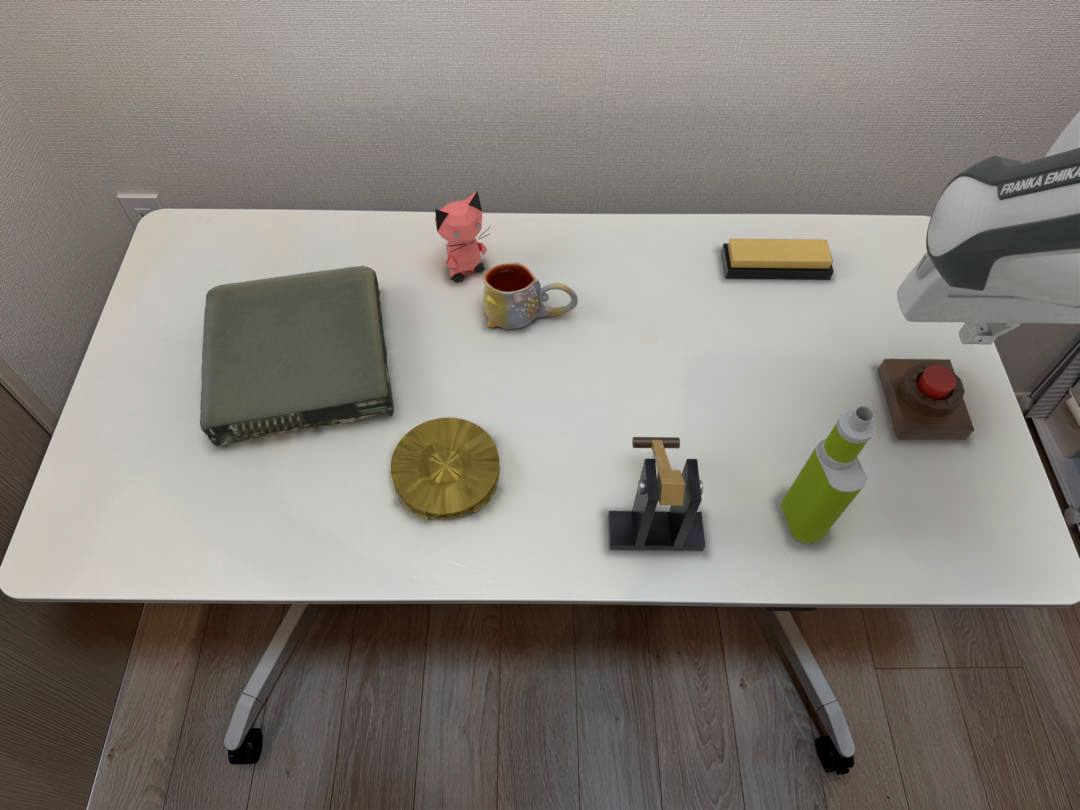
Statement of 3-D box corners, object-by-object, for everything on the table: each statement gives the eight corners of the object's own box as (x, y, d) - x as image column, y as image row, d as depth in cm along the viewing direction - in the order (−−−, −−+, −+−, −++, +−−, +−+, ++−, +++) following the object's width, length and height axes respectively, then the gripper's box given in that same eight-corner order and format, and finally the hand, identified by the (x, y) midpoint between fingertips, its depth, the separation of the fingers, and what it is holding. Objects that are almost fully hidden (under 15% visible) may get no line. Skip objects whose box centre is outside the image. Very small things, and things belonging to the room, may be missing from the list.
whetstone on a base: (830, 279, 102) (837, 264, 100) (725, 278, 102) (730, 263, 100) (823, 252, 105) (830, 236, 102) (720, 251, 105) (725, 235, 102)
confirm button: (953, 399, 88) (960, 391, 86) (921, 399, 88) (928, 391, 86) (944, 374, 90) (951, 365, 88) (913, 373, 90) (920, 365, 88)
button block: (965, 439, 89) (982, 422, 86) (896, 439, 89) (911, 421, 86) (942, 369, 94) (957, 350, 91) (877, 369, 94) (890, 349, 91)
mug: (478, 329, 97) (475, 294, 92) (489, 288, 101) (487, 253, 95) (572, 342, 96) (574, 308, 91) (579, 300, 100) (582, 265, 94)
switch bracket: (608, 513, 84) (618, 457, 73) (699, 514, 84) (723, 458, 73) (609, 551, 81) (620, 499, 71) (703, 552, 81) (729, 500, 71)
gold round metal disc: (396, 529, 83) (393, 521, 81) (390, 434, 89) (387, 425, 87) (506, 513, 84) (506, 505, 82) (493, 421, 90) (492, 411, 88)
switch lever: (631, 450, 84) (632, 430, 83) (677, 450, 84) (679, 430, 83) (645, 505, 72) (646, 483, 72) (697, 505, 72) (700, 483, 72)
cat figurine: (453, 295, 100) (444, 228, 90) (428, 262, 103) (417, 194, 93) (499, 273, 103) (496, 205, 92) (473, 241, 106) (467, 172, 95)
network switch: (215, 470, 86) (199, 448, 82) (196, 316, 98) (180, 290, 94) (417, 413, 91) (411, 390, 86) (374, 272, 102) (367, 246, 98)
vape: (808, 490, 85) (874, 391, 69) (828, 540, 82) (904, 449, 65) (776, 496, 85) (835, 398, 68) (795, 546, 82) (863, 456, 65)
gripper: (941, 269, 67) (882, 362, 79) (1173, 272, 67) (1080, 364, 79) (922, 219, 71) (868, 315, 83) (1144, 221, 71) (1058, 317, 82)
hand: (973, 339), depth 81 cm, fingers closed
